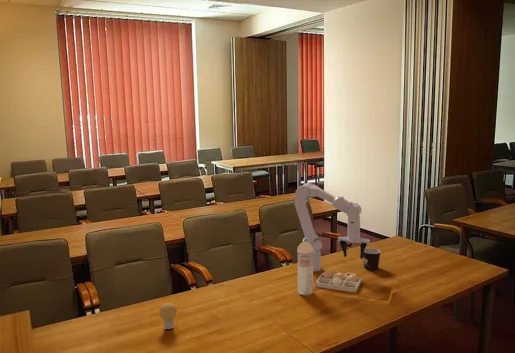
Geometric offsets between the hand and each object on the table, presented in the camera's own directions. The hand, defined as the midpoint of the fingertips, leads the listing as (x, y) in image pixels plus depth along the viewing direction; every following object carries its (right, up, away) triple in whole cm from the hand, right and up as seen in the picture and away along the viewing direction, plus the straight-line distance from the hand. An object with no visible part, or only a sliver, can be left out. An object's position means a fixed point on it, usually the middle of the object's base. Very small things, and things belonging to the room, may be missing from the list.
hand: (353, 257), depth 209 cm
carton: (-9, -12, -8) cm, 17 cm away
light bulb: (-79, -20, -42) cm, 92 cm away
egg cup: (-1, -10, 0) cm, 10 cm away
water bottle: (-24, -13, -14) cm, 31 cm away
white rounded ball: (-10, -11, -11) cm, 19 cm away
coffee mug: (+11, -8, +11) cm, 18 cm away
